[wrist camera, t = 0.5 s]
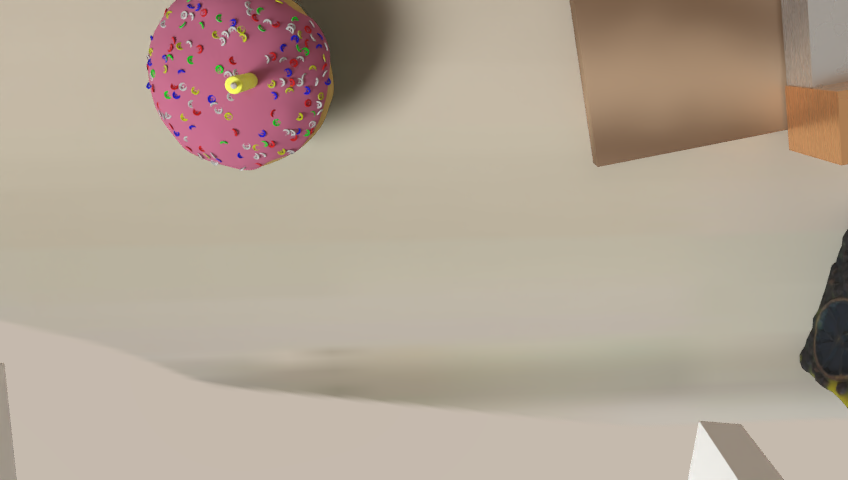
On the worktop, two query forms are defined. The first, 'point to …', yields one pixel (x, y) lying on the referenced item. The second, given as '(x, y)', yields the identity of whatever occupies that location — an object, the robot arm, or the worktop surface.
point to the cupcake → (240, 79)
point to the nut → (817, 77)
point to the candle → (831, 332)
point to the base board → (678, 73)
